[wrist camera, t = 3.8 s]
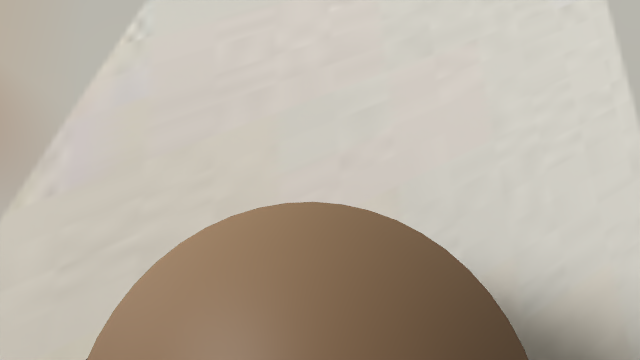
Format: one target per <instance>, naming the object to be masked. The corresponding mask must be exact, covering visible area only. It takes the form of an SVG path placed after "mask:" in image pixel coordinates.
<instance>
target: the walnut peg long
mask: <svg viewBox="0 0 640 360" xmlns="http://www.w3.org/2000/svg"><path fill="white" fill-rule="evenodd" d="M87 360H528V358H527V355H526V353H525V350H524V348H523V346H522V344H521V342H520V341H519V339H518V337H517V335H516V333H515V331H514V329H513V328H512V326H511V324H510V322H509V320H508V319H507V317H506V316H505V314H504V313H503V311H502V310H501V309H500V307H499V306H498V304H497V303H496V301H495V300H494V299H493V297H492V296H491V294H490V293H489V292H488V291H487V290H486V288H485V287H484V286H483V285H482V284H481V283H480V282H479V281H478V280H477V278H476V277H475V276H474V275H473V274H472V273H471V272H470V271H469V270H468V269H467V268H466V267H465V266H464V265H463V264H462V263H460V262H459V261H458V260H457V259H456V258H455V257H454V256H453V255H451V254H450V253H449V252H448V251H447V250H446V249H444V248H443V247H441V246H440V245H438V244H437V243H435V242H434V241H432V240H431V239H429V238H428V237H426V236H425V235H424V234H422V233H420V232H418V231H416V230H414V229H412V228H410V227H408V226H406V225H405V224H403V223H401V222H399V221H397V220H394V219H391V218H389V217H386V216H383V215H380V214H378V213H375V212H372V211H369V210H364V209H360V208H355V207H351V206H346V205H342V204H330V203H319V202H304V203H285V204H279V205H273V206H267V207H261V208H257V209H254V210H250V211H247V212H244V213H241V214H237V215H234V216H231V217H229V218H227V219H224V220H222V221H220V222H218V223H216V224H213V225H211V226H209V227H207V228H205V229H203V230H201V231H200V232H198V233H196V234H195V235H193V236H192V237H190V238H188V239H187V240H185V241H183V242H182V243H180V244H179V245H178V246H176V247H175V248H174V249H172V250H171V251H170V252H169V253H167V254H166V255H165V256H164V257H162V258H161V259H160V260H159V261H157V262H156V263H155V264H154V265H153V266H152V267H151V268H150V269H149V270H148V271H147V272H146V273H145V274H144V275H143V276H142V277H141V278H140V279H139V280H138V281H137V282H136V283H135V284H134V285H133V287H132V288H131V289H130V291H129V292H128V293H127V294H126V296H125V297H124V298H123V299H122V301H121V302H120V303H119V305H118V306H117V307H116V308H115V310H114V311H113V313H112V315H111V316H110V318H109V319H108V321H107V323H106V324H105V326H104V328H103V329H102V331H101V333H100V334H99V336H98V337H97V339H96V342H95V344H94V346H93V348H92V350H91V352H90V355H89V357H88V359H87Z"/></svg>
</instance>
